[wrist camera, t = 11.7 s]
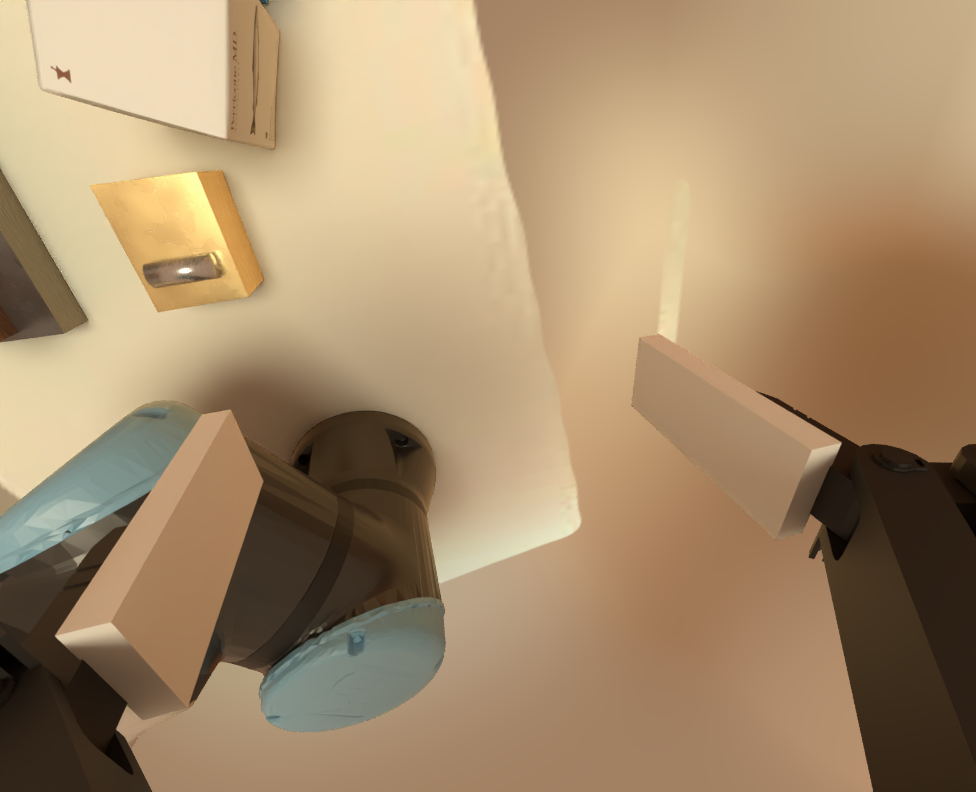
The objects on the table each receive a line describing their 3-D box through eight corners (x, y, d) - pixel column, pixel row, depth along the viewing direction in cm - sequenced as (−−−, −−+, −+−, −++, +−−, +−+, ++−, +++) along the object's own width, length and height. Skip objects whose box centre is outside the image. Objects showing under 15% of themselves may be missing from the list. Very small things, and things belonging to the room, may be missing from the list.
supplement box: (277, 152, 31) (228, 147, 20) (157, 117, 28) (28, 89, 18) (284, 29, 28) (230, -53, 17) (150, -23, 25) (-10, -157, 15)
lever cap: (264, 278, 35) (243, 302, 29) (187, 291, 34) (148, 318, 28) (222, 170, 31) (188, 172, 25) (133, 181, 30) (75, 186, 24)
